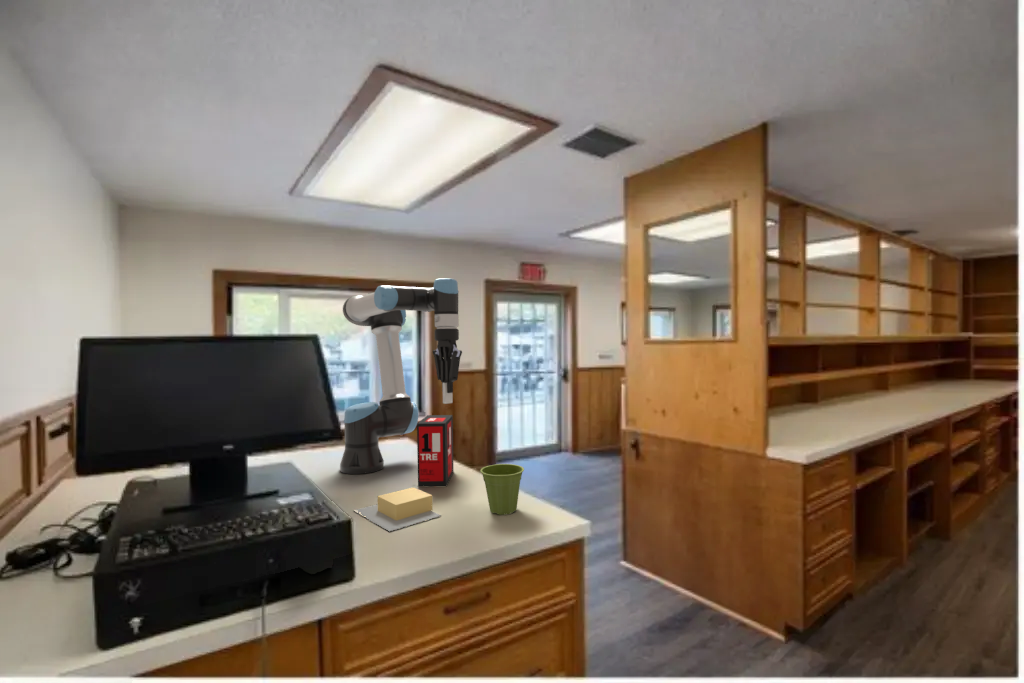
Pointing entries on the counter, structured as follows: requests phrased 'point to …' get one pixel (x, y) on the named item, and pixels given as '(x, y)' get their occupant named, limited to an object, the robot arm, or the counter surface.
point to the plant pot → (502, 487)
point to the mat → (390, 523)
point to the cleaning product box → (435, 450)
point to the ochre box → (405, 503)
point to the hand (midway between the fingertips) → (447, 403)
